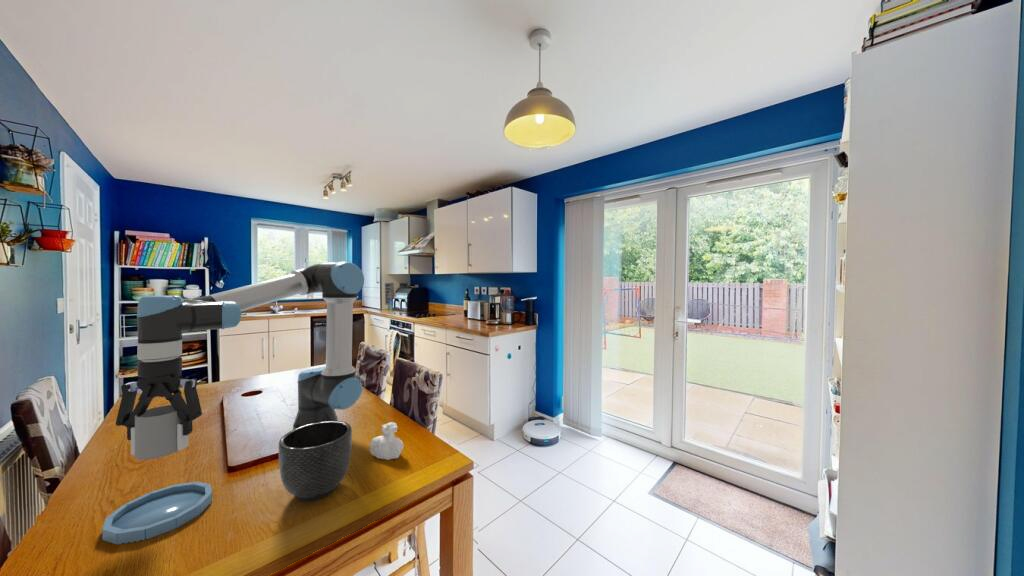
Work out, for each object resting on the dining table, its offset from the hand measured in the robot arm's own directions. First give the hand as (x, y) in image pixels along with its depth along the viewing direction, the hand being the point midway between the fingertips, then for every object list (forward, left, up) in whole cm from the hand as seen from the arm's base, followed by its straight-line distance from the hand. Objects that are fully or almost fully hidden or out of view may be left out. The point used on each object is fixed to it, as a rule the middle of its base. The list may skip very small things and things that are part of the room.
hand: (160, 449), depth 81 cm
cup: (0, 0, -1) cm, 1 cm away
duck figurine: (-51, -14, -16) cm, 56 cm away
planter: (-34, +1, -16) cm, 38 cm away
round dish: (0, +1, -16) cm, 16 cm away
